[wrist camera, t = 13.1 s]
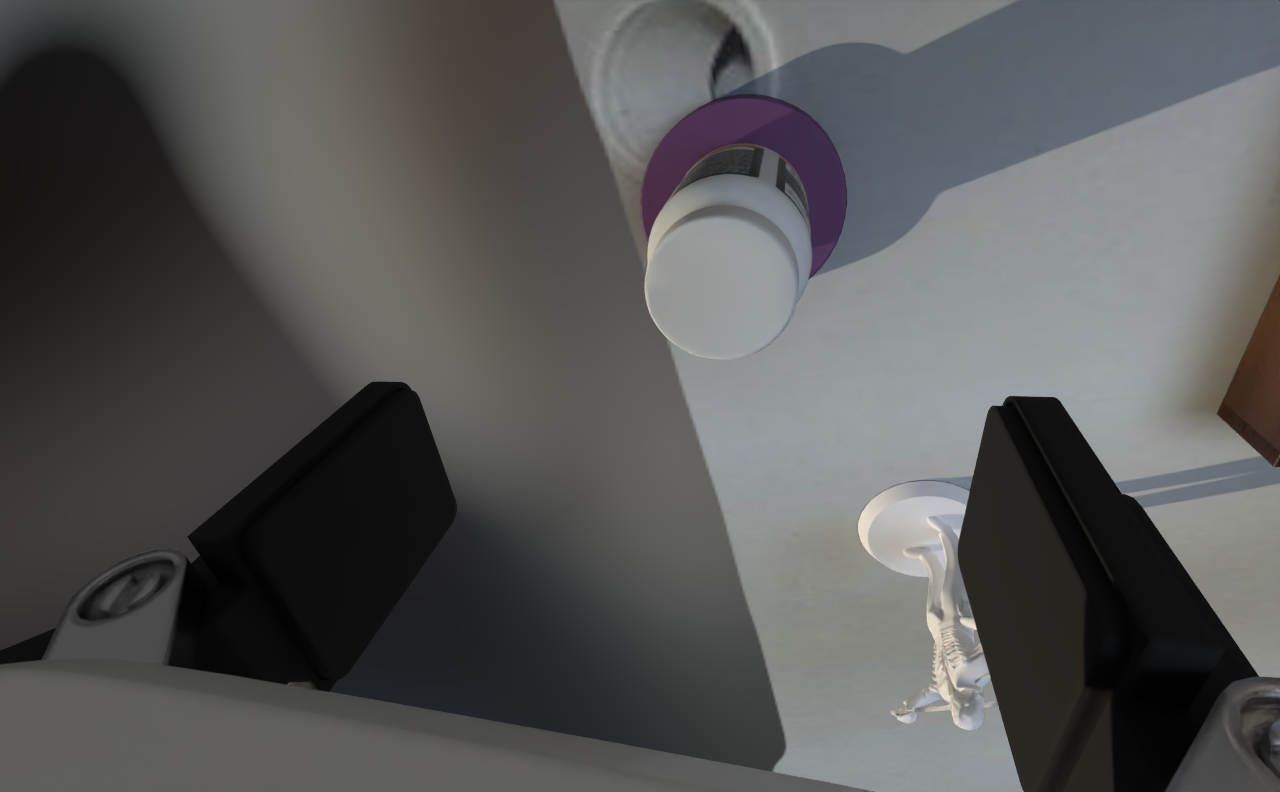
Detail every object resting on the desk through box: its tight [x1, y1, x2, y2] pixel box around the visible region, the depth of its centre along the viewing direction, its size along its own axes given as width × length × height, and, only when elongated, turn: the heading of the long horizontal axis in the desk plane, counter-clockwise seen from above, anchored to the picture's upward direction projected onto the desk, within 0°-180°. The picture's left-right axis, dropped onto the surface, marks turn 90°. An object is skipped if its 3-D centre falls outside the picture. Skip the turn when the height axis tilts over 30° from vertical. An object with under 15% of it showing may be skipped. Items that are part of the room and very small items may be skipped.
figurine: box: [858, 481, 998, 730], centre depth 29 cm, size 7×7×12 cm
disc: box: [640, 94, 847, 280], centre depth 27 cm, size 9×9×1 cm
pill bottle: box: [645, 143, 812, 360], centre depth 22 cm, size 6×6×10 cm
